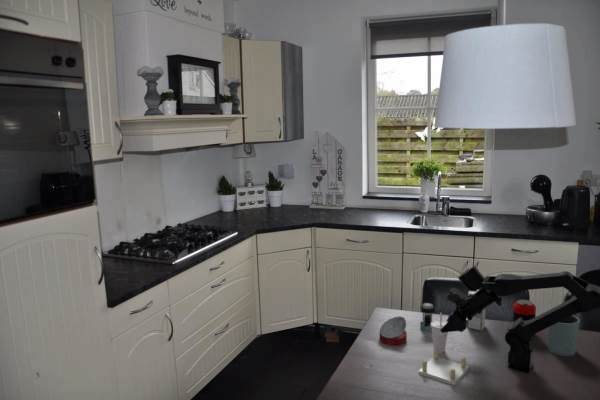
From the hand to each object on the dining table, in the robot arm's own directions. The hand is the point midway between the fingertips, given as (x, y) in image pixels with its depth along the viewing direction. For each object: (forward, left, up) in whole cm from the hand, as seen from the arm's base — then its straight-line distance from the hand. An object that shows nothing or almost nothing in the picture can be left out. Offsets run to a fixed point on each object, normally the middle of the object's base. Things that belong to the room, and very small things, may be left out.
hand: (444, 326), depth 174 cm
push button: (+12, -14, -9) cm, 20 cm away
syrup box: (-2, -26, -9) cm, 28 cm away
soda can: (-18, -31, -9) cm, 37 cm away
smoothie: (+2, 0, -9) cm, 10 cm away
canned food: (+19, +2, -10) cm, 21 cm away
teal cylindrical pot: (-32, -24, -9) cm, 41 cm away
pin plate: (-5, +13, -9) cm, 17 cm away
